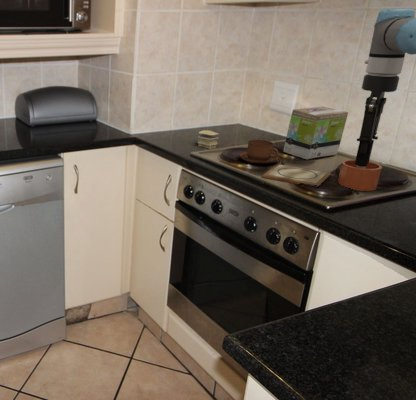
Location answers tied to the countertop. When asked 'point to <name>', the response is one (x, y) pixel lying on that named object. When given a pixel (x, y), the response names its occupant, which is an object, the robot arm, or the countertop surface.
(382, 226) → the countertop surface
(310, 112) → the tea box
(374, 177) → the pen cup
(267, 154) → the cup and saucer
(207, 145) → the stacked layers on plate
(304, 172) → the tan flat square slab
